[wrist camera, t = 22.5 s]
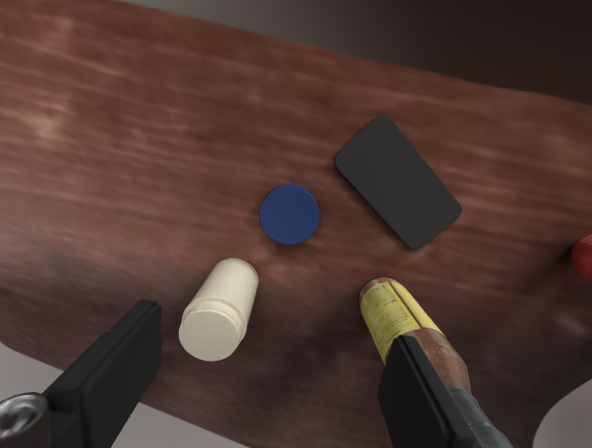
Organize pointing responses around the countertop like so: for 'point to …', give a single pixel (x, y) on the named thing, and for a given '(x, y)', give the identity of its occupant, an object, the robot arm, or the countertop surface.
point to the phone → (397, 183)
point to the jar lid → (289, 214)
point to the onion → (583, 257)
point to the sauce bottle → (424, 349)
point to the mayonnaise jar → (220, 311)
